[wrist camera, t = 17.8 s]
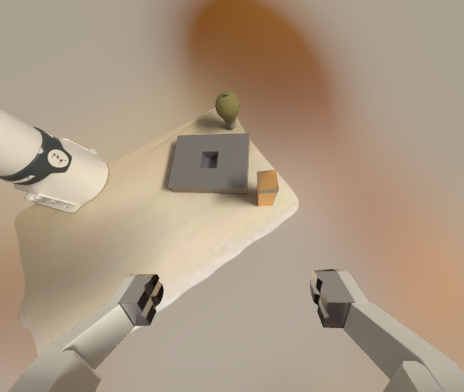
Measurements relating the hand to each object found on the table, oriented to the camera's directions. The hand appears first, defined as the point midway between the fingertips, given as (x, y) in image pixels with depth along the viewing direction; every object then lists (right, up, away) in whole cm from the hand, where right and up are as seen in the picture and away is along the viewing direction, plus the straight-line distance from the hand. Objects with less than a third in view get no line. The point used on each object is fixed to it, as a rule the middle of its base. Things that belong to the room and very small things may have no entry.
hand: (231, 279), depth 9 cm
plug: (+7, +4, +29) cm, 31 cm away
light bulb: (0, +23, +37) cm, 44 cm away
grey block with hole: (-5, +12, +34) cm, 36 cm away
